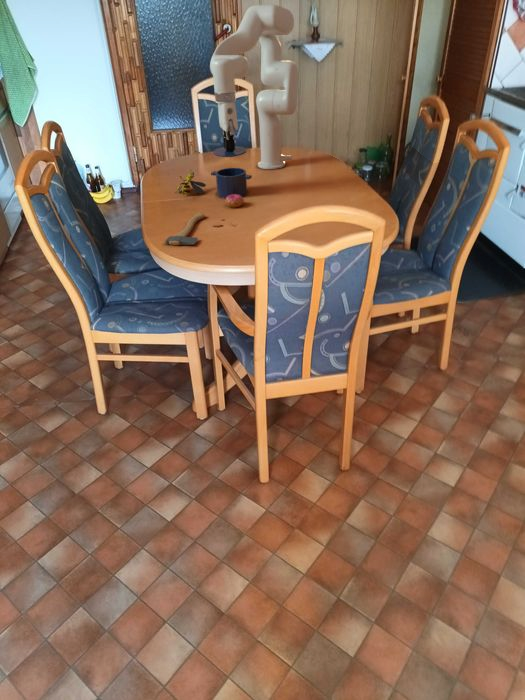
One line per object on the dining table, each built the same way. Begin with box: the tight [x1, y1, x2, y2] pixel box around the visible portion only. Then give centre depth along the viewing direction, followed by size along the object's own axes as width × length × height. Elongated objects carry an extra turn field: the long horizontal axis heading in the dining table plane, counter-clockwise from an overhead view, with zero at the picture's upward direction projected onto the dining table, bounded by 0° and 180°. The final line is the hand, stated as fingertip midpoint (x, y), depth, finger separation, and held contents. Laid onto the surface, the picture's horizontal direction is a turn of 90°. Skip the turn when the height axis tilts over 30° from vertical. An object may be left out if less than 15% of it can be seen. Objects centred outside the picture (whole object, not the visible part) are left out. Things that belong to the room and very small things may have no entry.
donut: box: [224, 194, 245, 209], centre depth 200 cm, size 7×7×4 cm
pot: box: [210, 167, 253, 199], centre depth 210 cm, size 12×17×8 cm
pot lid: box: [212, 137, 247, 158], centre depth 203 cm, size 13×13×6 cm
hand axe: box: [165, 212, 205, 246], centre depth 182 cm, size 27×2×10 cm
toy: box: [174, 169, 207, 196], centre depth 211 cm, size 12×8×15 cm
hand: (229, 148), depth 203 cm, fingers closed on pot lid, 3 cm apart
